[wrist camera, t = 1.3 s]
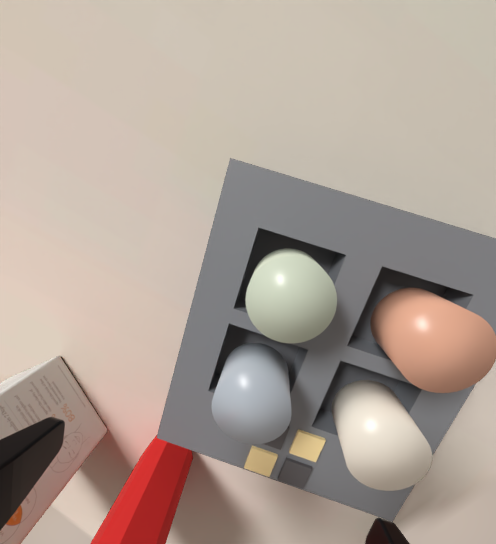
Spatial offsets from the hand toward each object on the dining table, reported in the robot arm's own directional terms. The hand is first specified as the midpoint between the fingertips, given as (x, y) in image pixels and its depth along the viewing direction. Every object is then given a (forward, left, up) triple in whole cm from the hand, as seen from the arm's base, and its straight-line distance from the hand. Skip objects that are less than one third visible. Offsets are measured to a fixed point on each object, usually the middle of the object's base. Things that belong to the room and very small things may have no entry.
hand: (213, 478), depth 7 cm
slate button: (-1, +2, -9) cm, 9 cm away
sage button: (-1, -4, -8) cm, 9 cm away
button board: (-5, 0, -12) cm, 13 cm away
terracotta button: (-8, -4, -9) cm, 12 cm away
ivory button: (-8, +2, -9) cm, 12 cm away
